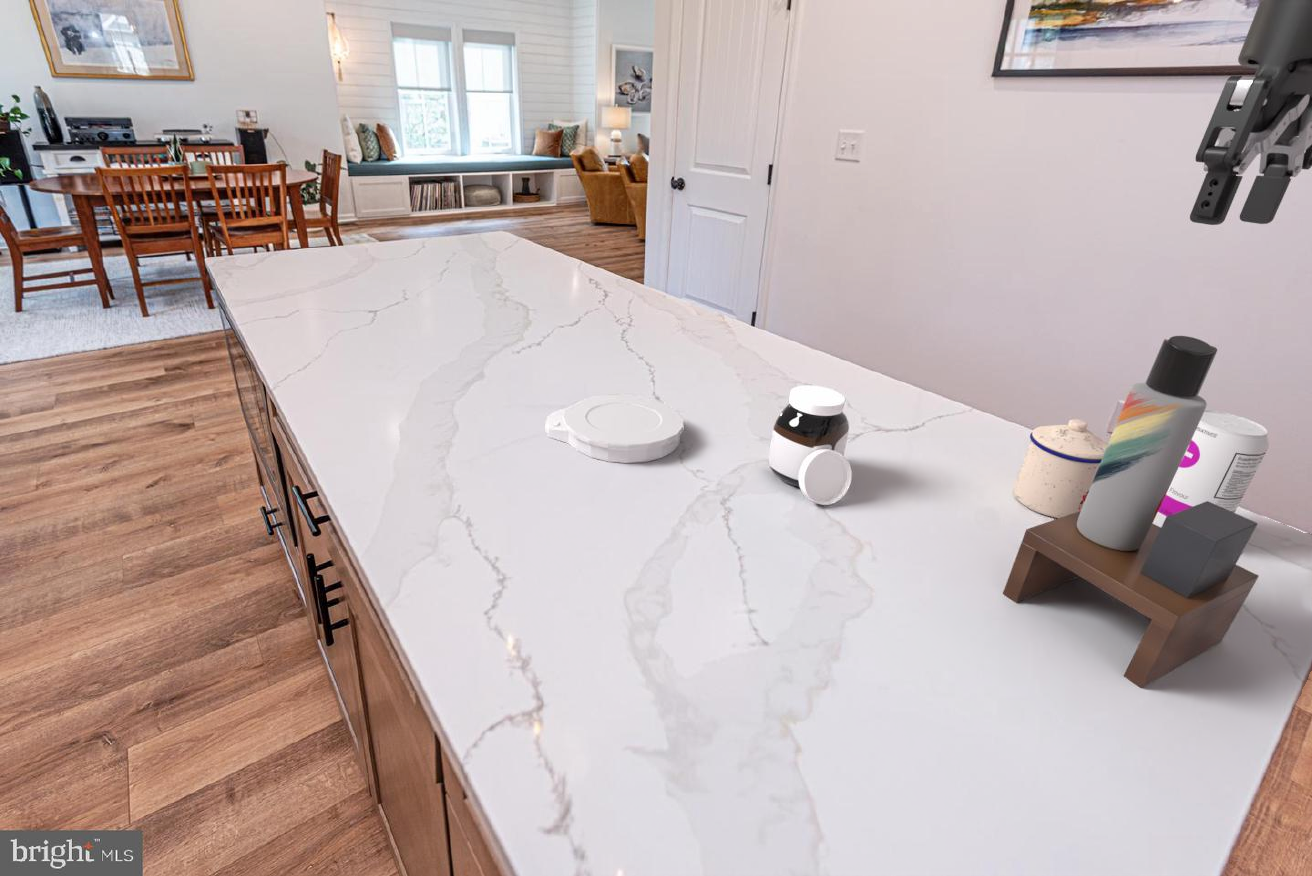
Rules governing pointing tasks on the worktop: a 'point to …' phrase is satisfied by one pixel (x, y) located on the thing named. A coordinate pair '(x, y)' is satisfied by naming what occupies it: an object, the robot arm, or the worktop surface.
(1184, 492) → the supplement can
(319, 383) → the worktop surface
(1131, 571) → the riser
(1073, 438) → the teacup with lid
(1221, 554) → the charcoal block
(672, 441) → the lid
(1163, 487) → the lotion bottle
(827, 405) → the spread jar
